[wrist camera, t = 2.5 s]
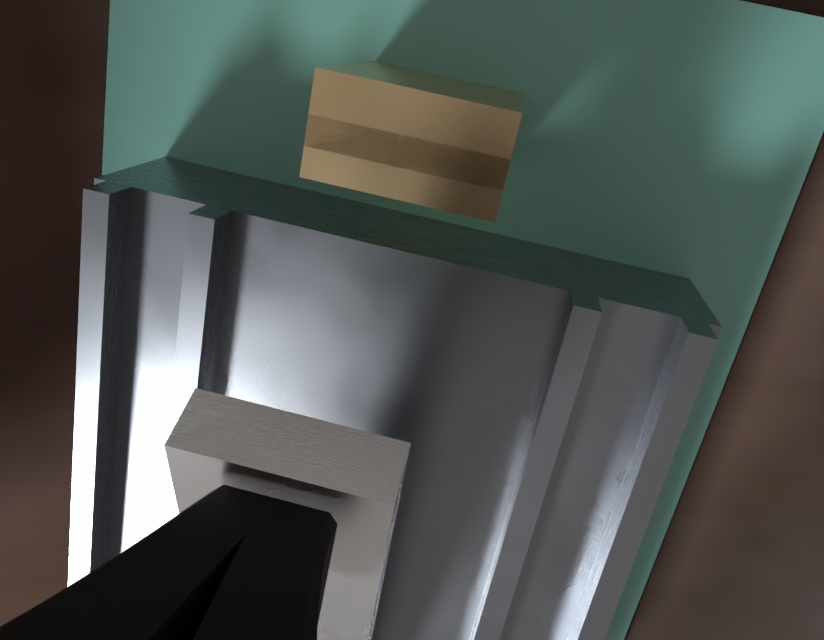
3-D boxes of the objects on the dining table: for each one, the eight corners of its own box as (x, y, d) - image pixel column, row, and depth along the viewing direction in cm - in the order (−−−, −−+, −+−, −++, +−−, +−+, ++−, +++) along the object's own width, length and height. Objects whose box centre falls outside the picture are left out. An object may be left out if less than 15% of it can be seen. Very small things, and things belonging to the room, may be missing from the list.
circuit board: (86, 706, 25) (75, 721, 24) (131, -123, 16) (116, -129, 15) (538, 837, 24) (538, 856, 23) (852, 26, 15) (865, 25, 14)
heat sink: (129, 618, 22) (30, 759, 18) (176, 17, 16) (43, 6, 12) (530, 730, 21) (529, 907, 17) (738, 140, 15) (821, 178, 11)
